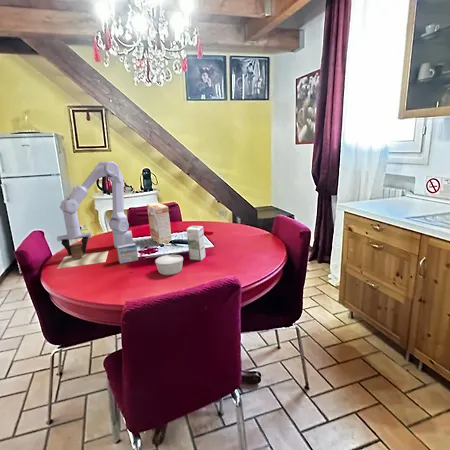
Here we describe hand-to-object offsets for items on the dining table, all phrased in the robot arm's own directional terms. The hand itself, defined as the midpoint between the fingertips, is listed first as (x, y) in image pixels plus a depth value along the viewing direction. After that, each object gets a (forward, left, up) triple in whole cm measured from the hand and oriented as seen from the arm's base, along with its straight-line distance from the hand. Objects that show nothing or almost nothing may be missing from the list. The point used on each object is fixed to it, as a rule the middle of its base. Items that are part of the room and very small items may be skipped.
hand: (77, 253), depth 156 cm
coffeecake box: (-39, -16, -4) cm, 42 cm away
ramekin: (-40, +29, -4) cm, 50 cm away
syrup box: (-53, +19, -4) cm, 56 cm away
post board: (-3, +3, -4) cm, 6 cm away
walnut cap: (0, 0, -1) cm, 1 cm away
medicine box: (-23, +13, -4) cm, 27 cm away
